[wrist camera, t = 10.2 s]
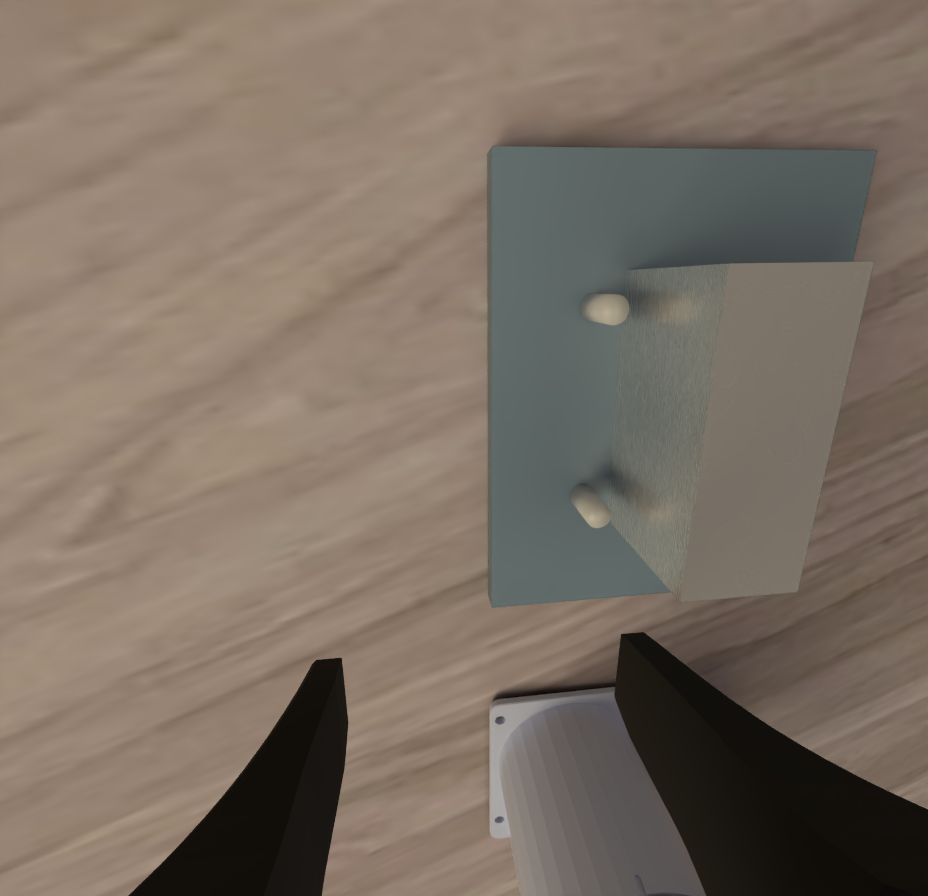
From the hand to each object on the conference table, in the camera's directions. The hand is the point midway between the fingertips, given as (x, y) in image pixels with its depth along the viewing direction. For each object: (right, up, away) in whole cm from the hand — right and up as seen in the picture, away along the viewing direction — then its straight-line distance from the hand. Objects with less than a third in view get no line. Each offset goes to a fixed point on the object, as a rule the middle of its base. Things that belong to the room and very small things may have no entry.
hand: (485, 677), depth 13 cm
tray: (+7, +8, +8) cm, 14 cm away
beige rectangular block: (+7, +8, +7) cm, 13 cm away
